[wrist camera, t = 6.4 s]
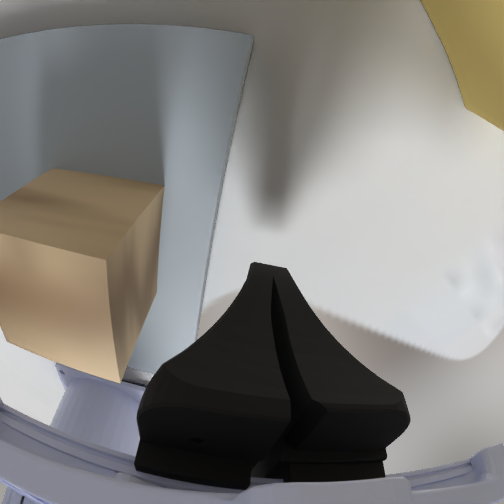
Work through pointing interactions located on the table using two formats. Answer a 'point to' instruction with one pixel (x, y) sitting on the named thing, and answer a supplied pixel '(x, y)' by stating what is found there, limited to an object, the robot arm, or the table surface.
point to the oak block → (79, 267)
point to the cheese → (474, 51)
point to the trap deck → (132, 138)
